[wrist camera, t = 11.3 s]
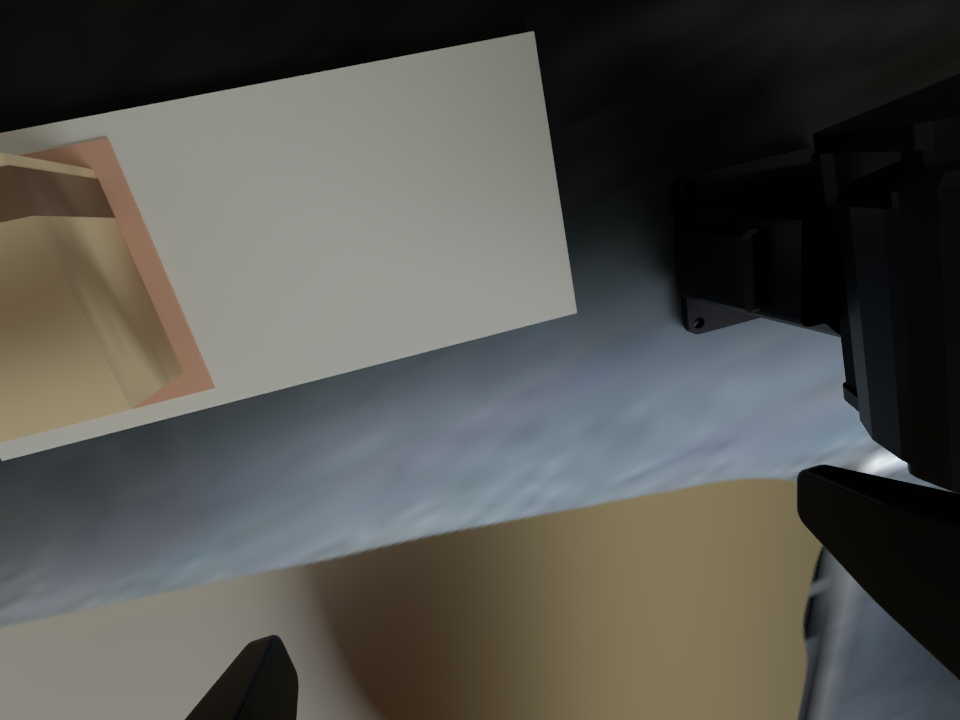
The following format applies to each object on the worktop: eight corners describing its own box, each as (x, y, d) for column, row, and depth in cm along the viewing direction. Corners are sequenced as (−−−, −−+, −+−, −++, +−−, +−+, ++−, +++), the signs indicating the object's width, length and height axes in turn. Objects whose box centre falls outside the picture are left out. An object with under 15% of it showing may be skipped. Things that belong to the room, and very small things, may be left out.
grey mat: (530, 36, 16) (534, 29, 15) (572, 310, 19) (577, 313, 19) (-161, 169, 14) (-185, 167, 13) (13, 454, 17) (-1, 462, 16)
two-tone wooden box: (185, 372, 17) (131, 409, 13) (68, 401, 16) (-18, 447, 13) (93, 168, 14) (1, 151, 11) (-44, 196, 14) (-183, 187, 11)
